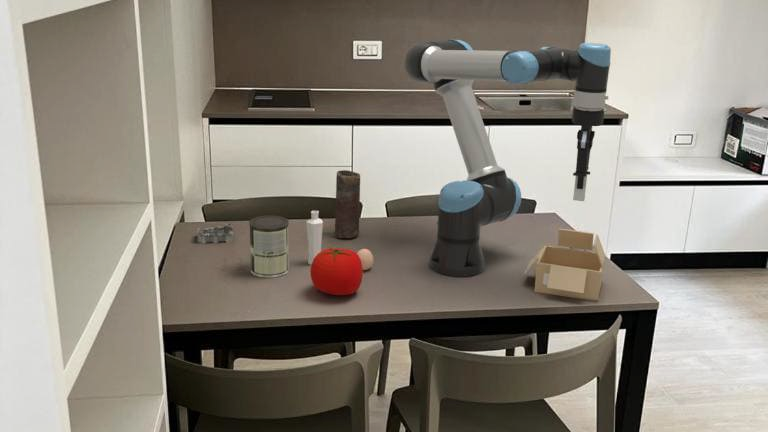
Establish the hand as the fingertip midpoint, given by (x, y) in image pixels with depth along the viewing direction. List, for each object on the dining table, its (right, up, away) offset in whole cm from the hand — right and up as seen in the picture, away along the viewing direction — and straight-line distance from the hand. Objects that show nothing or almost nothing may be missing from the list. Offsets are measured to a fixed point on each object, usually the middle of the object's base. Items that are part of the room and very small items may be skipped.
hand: (578, 199), depth 202 cm
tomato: (-62, -24, 0) cm, 66 cm away
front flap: (-3, -17, -1) cm, 17 cm away
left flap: (-8, -14, +7) cm, 18 cm away
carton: (-1, -23, +8) cm, 24 cm away
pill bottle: (+6, -17, +26) cm, 31 cm away
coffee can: (-80, -19, +12) cm, 83 cm away
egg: (-55, -19, +15) cm, 60 cm away
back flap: (+2, -13, +11) cm, 17 cm away
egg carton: (-100, -11, +34) cm, 106 cm away
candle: (-61, -10, +40) cm, 73 cm away
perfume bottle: (-69, -17, +18) cm, 73 cm away
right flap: (+7, -16, +3) cm, 17 cm away
